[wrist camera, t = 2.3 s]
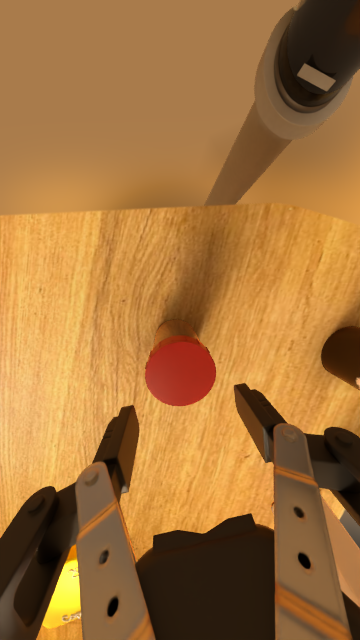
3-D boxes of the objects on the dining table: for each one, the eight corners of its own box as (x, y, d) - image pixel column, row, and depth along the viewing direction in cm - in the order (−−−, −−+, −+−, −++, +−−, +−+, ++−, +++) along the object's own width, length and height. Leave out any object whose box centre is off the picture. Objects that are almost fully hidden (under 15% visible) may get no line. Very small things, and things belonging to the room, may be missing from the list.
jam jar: (163, 313, 24) (160, 333, 15) (201, 326, 25) (222, 353, 16) (149, 350, 25) (139, 391, 16) (187, 362, 26) (198, 407, 17)
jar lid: (159, 325, 16) (158, 331, 14) (221, 346, 17) (227, 354, 15) (138, 384, 17) (135, 396, 16) (197, 400, 18) (200, 413, 17)
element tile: (61, 590, 36) (45, 637, 31) (19, 548, 32) (-6, 593, 28) (128, 565, 35) (122, 608, 31) (93, 520, 32) (80, 560, 27)
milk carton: (269, 507, 35) (387, 765, 16) (286, 481, 33) (435, 729, 15) (299, 513, 36) (440, 762, 17) (316, 488, 34) (489, 727, 16)
